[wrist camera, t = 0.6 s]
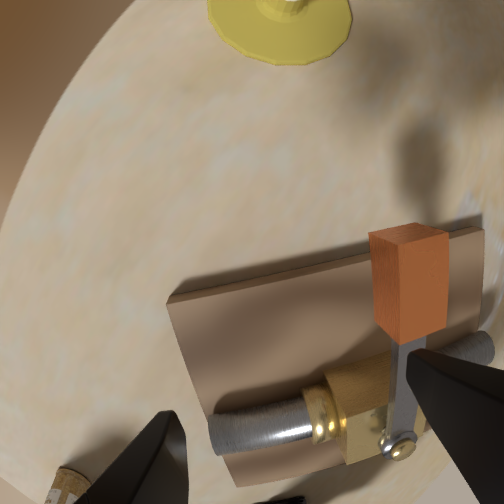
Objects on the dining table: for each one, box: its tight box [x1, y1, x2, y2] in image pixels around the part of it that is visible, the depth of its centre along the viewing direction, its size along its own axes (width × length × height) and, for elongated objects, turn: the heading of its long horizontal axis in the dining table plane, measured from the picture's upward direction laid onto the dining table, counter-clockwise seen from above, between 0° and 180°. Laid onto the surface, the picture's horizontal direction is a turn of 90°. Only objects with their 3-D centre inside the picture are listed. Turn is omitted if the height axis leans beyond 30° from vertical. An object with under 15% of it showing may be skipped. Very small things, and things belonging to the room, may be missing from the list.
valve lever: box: [368, 223, 449, 461], centre depth 14 cm, size 14×3×3 cm, turn 11°
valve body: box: [208, 331, 495, 465], centre depth 19 cm, size 5×23×6 cm, turn 101°
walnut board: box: [166, 226, 484, 487], centre depth 22 cm, size 20×24×2 cm
